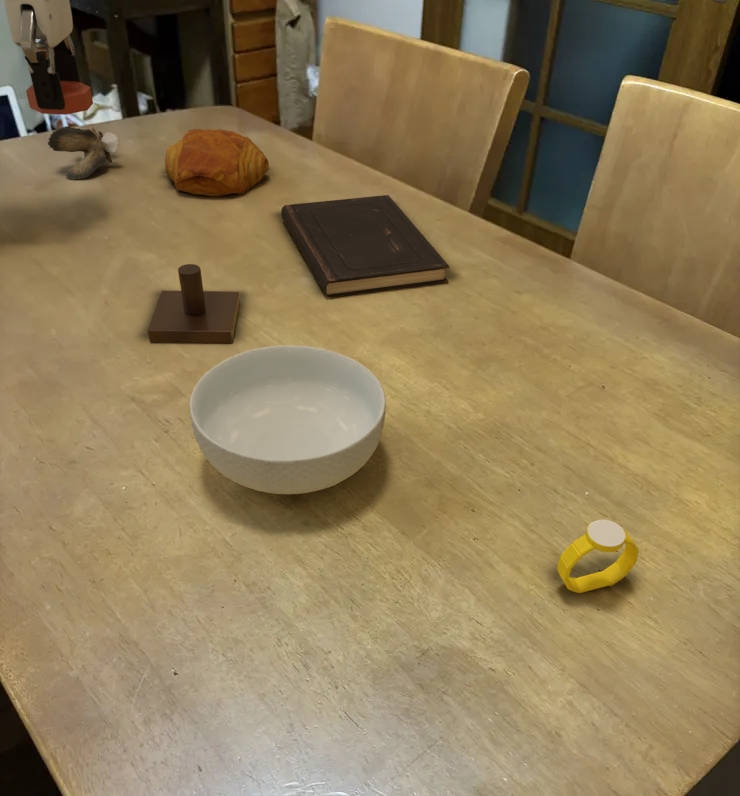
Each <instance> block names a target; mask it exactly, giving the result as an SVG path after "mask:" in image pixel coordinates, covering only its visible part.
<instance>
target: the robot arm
mask: <svg viewBox="0 0 740 796" xmlns="http://www.w3.org/2000/svg"><path fill="white" fill-rule="evenodd" d="M3 3H4V8H5V11H6V18H7V23H8V27H9V32H10V37H11V40H12V42H13V43H14V45H15V46H17V47H20V48H21V50H22V52H23V53H24V60H26V63H27V71H28V72H29V75H30V78H31V83H32V85H33V88H34V92H35V96H36V101H37V105H38V107H39V108H40V109H57V110H63V109H64V108H65V102H64V97H63V92H62V87H61V82H60V81H77V82H80V83H81V78H80V72H79V67H78V63H77V62H78V61H77V57H76V51H75V46H74V43H73V40H72V35H73V34H72V33H73V28H74V22H73V13H72V8H71V3H70V0H3ZM36 40H41V41H42V40H43V41H45V42H37V41H36ZM43 52H45V55H44V54H43Z"/></svg>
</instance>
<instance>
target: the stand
mask: <svg viewBox="0 0 740 796" xmlns="http://www.w3.org/2000/svg"><path fill="white" fill-rule="evenodd" d="M177 273H178V279H179V287H180V290H161V292H160V295H159V298H158V299H157V300H158V301H157V303H156V306H155V308H154V311H153V315H152V317H151V320H150V323H149V326H148V329H147V334H148V340H149V343H178V344H179V343H182V344H184V343H185V344H188V343H190V344H198V343H199V344H232V343H233V340H234V334H235V329H236V326H237V325H236V324H237V320H238V314H239V310H240V305H241V300H240V291H222V290H221V291H219V290H218V291H217V290H216V291H215V290H212V291H211V290H204V285H203V278H202V270H201V267H200V266H199V265H197V264H195V263H187V264H186V263H185V264H183V265H180V266H179V267H178V269H177Z"/></svg>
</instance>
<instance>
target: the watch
mask: <svg viewBox="0 0 740 796" xmlns="http://www.w3.org/2000/svg"><path fill="white" fill-rule="evenodd" d="M624 544H625V545H624ZM623 546H624V550H623V552H622V553H621V554H620V556H618V558H617V560H616V561H614V562H613V563H612V564H611V565H609V566H608V567H606V568H605V569H603V570H602V571H598V572H593V573H590V574H586V575H582V576H578V577H572V576H570V575H571V572H572V569H573V568H574V567H575V566H576V564H578V562H579V561H580V560H581V559H582V558H583V557H584V556H586V555H588V554H589V553H591V552H592V551H594V550H597V551H599V552H602V553H615V552H617V551H619V550H621V548H623ZM639 552H640V550H639V547H638V546H637V544H636V543H635V541H634V540H633V539H632V537H631V536H630V534H629V533H628V532H627V530H625V529H624V528H623V527H621V525H620V524H618V523H616V522H615V521H612V520H609V519H597V520H594V521H591V522H590V523H589V524H588V525H587V527H586V530H585V534H583V535H582V536H580V537H578V538H576V539H575V540H574V541H572V542H571V543H570V544H569V545H568V546H567V548H565V550H564V551H563V552H562V553H561V555H560V557H559V560H558V563H557V566H556V570H557V572H558V574H559V576H560V578H561V580H562V581H563V583H564V585H565V587H566V589H568V590H569V591H571V592H574V593H576V594H582V593H587V592H589V591H593V590H597V589H600V588H604V587H605V588H606V587H613V586H614V585H615V584H617V583H618V582H619V581H620V580H622V579H623V578H625V577H626V576H627V575H629V573H630V572H631V570H632V569H633V567H634V566H635V565H636V564H637V561H638V556H639Z"/></svg>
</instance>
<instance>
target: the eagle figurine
mask: <svg viewBox="0 0 740 796" xmlns="http://www.w3.org/2000/svg"><path fill="white" fill-rule="evenodd" d="M47 146H49V148H50V149H52V151H54V152H66V153H75V152H82V153H83V155H82V157H81V159H80V160H78V162H76V163H75V165H74V166H73V167H72V168H70V169H69V170H67V171H66V172H65V177H66V178H65V179H68V180H82V179H87V178H88V177H90V176H91V175H92V174H94V172H95V171H96V170H97V169H98V168H99V167H101V166H103V165H105V164H106V162H108V163H111V164H112V163H113V159H112V157H111V154H116V153H117V151H118V149H119V146H120V142H119V138H118V136H117V135H116V134H114V133H113V132H110V131H106V132H104V134H103V132H102V131H100V130H98V131H97V130H96V129H95V128H94V127H91V129H90V128H87V129H83V128H75V127H71V126H70V125H67V126H66V125H65V126H64V127H63V126H62V127H59V128H58V129H55V130H54V131H52V133H51V134H50V137H48V142H47Z"/></svg>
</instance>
